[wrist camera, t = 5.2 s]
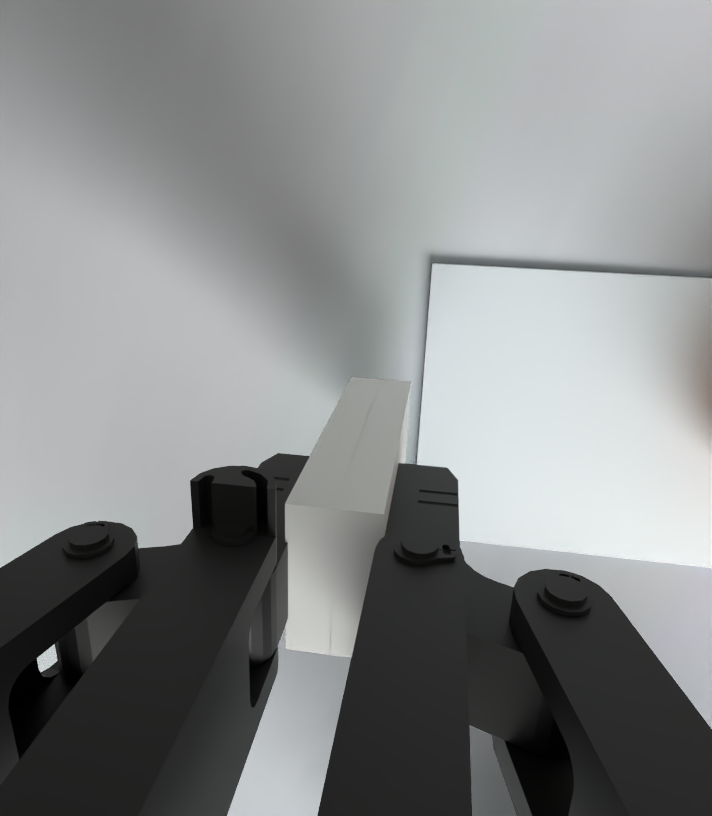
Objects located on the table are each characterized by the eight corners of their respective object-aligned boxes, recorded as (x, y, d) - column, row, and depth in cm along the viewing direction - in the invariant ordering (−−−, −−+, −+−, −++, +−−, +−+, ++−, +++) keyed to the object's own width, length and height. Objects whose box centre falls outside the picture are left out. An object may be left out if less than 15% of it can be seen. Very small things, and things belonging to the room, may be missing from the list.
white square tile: (411, 531, 18) (411, 535, 18) (432, 262, 16) (432, 264, 16) (727, 565, 17) (730, 569, 17) (809, 283, 15) (813, 284, 14)
